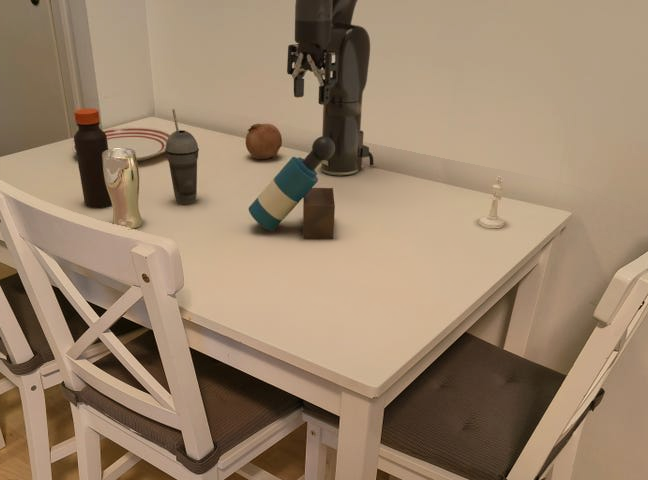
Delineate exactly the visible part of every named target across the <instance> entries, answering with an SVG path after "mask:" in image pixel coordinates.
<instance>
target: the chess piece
mask: <svg viewBox="0 0 648 480" xmlns="http://www.w3.org/2000/svg"><path fill="white" fill-rule="evenodd" d="M494 181H495V182H496V183H495V184H493V185H492V190H493V191H492V192H493V195H491V196H490V199H491V200H492V203H491V206H490V209H489V213H488V214H487V215H486V216H482V217H481V218H480V219H479V222H478V224H479V225H480V226H482V227H484V228H487V229H501V228H503V227H504V223H505V221H504V219H502V218H501V217H499V215H498V203H499V201H501V200H502V196H501V195H500V194H501V192H502V191H503V189H504V186H503V185H502V184H503V183H504V180H503V179H502V176H501V175H498V176H497V177H496V178H495V179H494Z"/></svg>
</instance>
